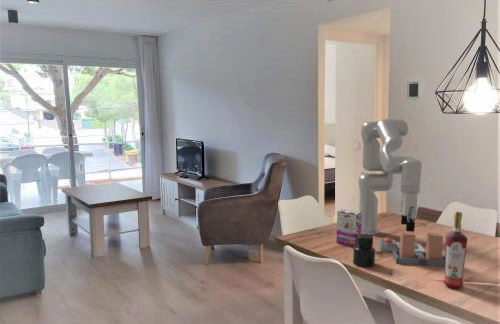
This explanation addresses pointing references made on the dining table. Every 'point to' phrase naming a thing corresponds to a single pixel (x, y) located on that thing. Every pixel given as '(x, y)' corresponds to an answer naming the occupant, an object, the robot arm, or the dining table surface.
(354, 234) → the candy bar box
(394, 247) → the grey square holder
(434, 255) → the block
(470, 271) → the dining table surface
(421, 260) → the grey two-slot rack
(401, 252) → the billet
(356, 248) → the ink bottle
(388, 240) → the red egg shape
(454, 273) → the liquor
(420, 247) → the light grey square frame
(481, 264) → the dining table surface
